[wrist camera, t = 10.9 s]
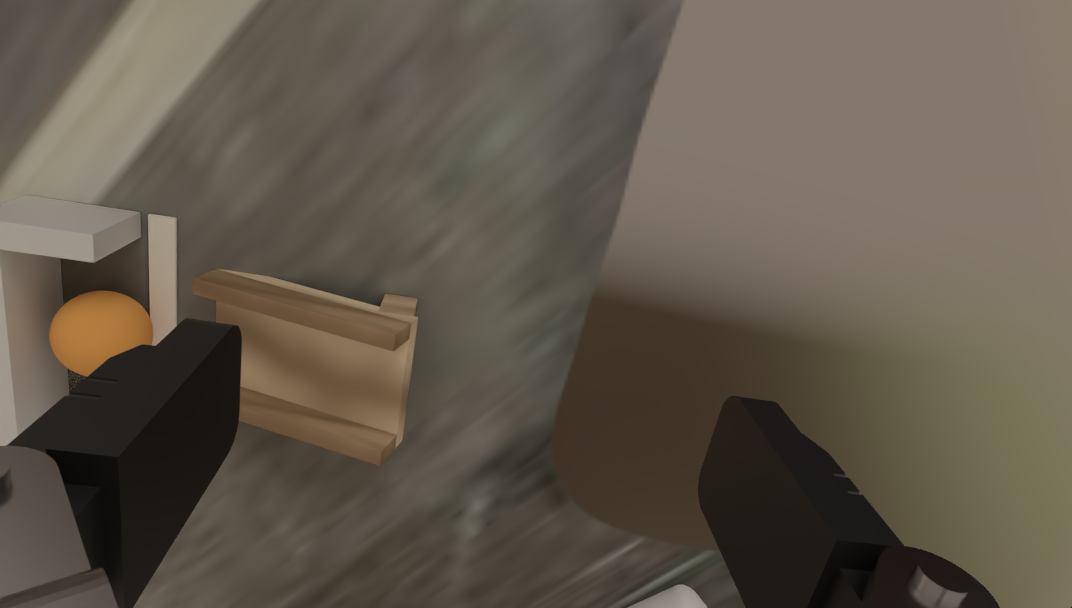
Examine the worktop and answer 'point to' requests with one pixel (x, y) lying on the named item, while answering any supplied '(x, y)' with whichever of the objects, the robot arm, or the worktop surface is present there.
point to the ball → (98, 329)
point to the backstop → (43, 294)
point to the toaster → (673, 599)
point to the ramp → (319, 361)
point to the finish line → (162, 274)
